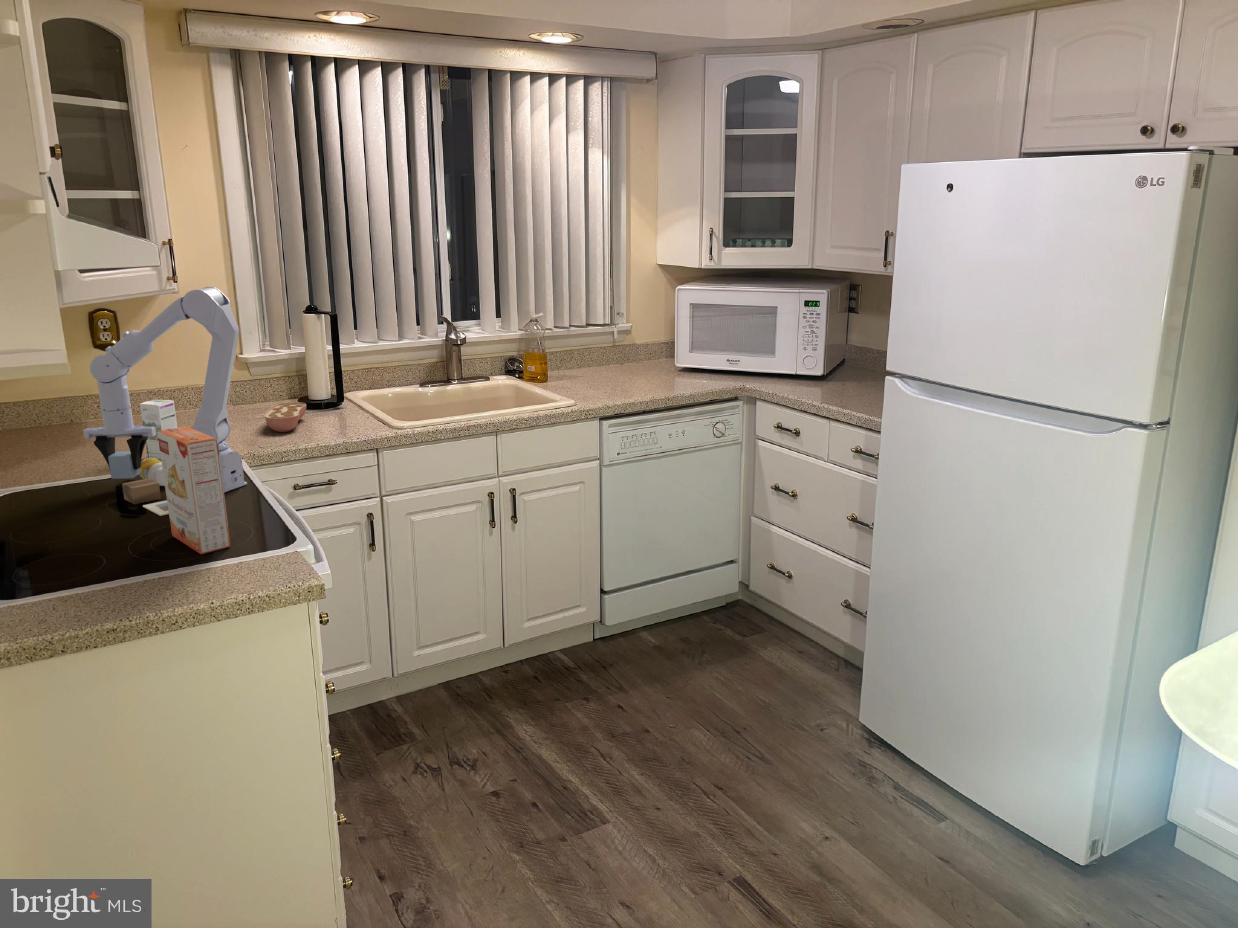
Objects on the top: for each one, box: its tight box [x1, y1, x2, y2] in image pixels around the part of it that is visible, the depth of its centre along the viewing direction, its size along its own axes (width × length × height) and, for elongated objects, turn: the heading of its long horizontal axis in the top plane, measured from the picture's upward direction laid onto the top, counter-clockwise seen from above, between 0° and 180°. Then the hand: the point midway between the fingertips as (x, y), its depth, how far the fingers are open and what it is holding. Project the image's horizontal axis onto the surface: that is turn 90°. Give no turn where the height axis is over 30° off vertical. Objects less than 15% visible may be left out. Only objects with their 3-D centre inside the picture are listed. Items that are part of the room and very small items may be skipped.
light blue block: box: [108, 450, 141, 480], centre depth 206 cm, size 4×4×5 cm
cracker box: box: [157, 426, 232, 555], centre depth 171 cm, size 14×6×21 cm, turn 45°
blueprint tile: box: [142, 499, 169, 517], centre depth 194 cm, size 9×6×1 cm, turn 47°
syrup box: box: [139, 399, 178, 461], centre depth 233 cm, size 6×6×14 cm
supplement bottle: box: [138, 457, 165, 487], centre depth 211 cm, size 5×5×10 cm
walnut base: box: [121, 478, 162, 505], centre depth 200 cm, size 6×6×4 cm
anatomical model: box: [264, 401, 307, 433], centre depth 269 cm, size 23×10×5 cm, turn 10°
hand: (125, 468), depth 206 cm, fingers closed on light blue block, 4 cm apart
